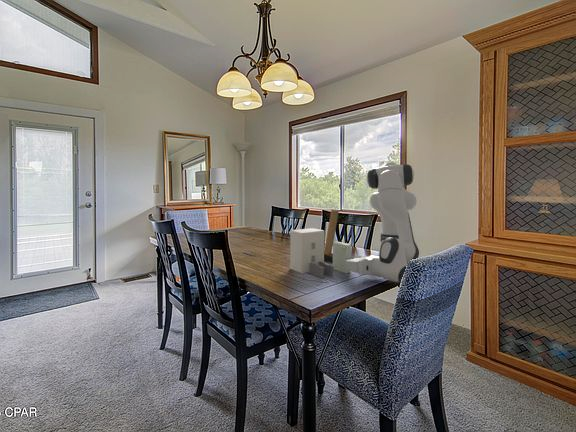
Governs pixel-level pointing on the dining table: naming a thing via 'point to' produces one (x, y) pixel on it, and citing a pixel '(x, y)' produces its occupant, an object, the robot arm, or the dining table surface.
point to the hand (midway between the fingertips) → (352, 258)
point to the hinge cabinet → (308, 252)
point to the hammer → (330, 236)
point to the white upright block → (341, 256)
